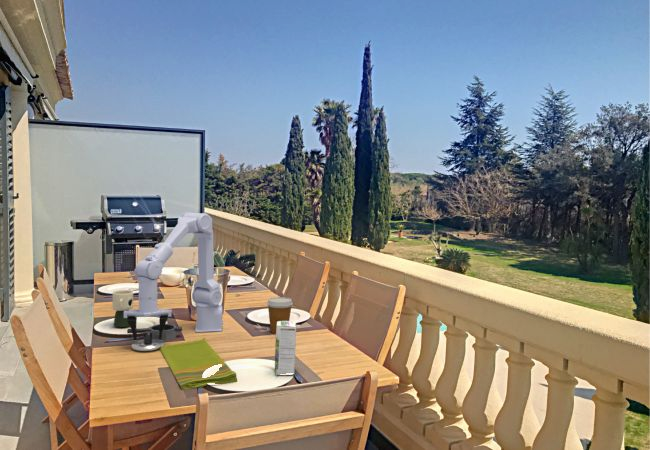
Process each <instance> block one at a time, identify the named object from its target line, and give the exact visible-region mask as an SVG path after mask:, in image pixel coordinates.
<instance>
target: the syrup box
mask: <svg viewBox="0 0 650 450" xmlns="http://www.w3.org/2000/svg"><path fill="white" fill-rule="evenodd" d="M296 337H297V322H296V321H290V320H289V321H277V328H276V334H275V343H274V345H275V348H274V376H277V375H280V374H286V373H294V374H295V370H296V369H295V368H296V367H295V366H296V346H297V345H296V343H297V338H296ZM277 377H278V376H277Z"/></svg>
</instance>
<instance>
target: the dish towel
mask: <svg viewBox="0 0 650 450" xmlns="http://www.w3.org/2000/svg"><path fill="white" fill-rule="evenodd" d="M159 351H160V352H161V354H162V355H163V357H164V359H165V361H166V363H167V364H168V367H169V368H170V371H171V370H172V371H171V372H172V374H173V377H174V378H175V380H176V382H177V383H178V385H179V387H180V389H181V390H182V389H184V390H189V389H190V390H192V389H197V388H198V387H199V388H204V386H206V385H207V383H215V384H221V385H226V384H227V385H228V384H231V383H232V384H233V383H236V382H238V376H237V373H236V371H234V370H233V369H231V368H230V366H229V365H227V363H226V362H225V361H224V360H223V358H222V357H221V356H220V355H219V354H218V353H217V352H216V351H215V350H214V349H213V348H212V346H211V345H210V344H209V343H208V342H207V340H206V337H203V338H202V339H200V340H194V341H190V342H181V343H174V344H168V345H164V346H163V347H161V348H159ZM218 364H222V367H220V368H219V371H217V372H216V373H215V374H214V375H211V376H210V377H207V378H202V374H203V372H204V371H205V370H206V369H208V368H210V367H212V366H214V365H218ZM191 388H192V389H191ZM199 388H198V389H199Z"/></svg>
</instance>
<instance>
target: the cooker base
mask: <svg viewBox="0 0 650 450" xmlns="http://www.w3.org/2000/svg"><path fill="white" fill-rule="evenodd" d="M136 330H137V334H144V332H148V331H150V332H152V339H159V330H160V323H159V324H158V323H157V324H154V325H151V326H149V327H147V328H146V327H142V328H141V327H139V328H138V327H136ZM177 332H183V326H176V325H175V324H173V323H172V324H170V323H166V324H165V326H164V328H163V331H162V338H161V339H159V340H162V341H164V342H167V341H172V340H174V339H176V338H177ZM126 334H128V335H129V334H133V333H132V330H131V328H127V333H126Z"/></svg>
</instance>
